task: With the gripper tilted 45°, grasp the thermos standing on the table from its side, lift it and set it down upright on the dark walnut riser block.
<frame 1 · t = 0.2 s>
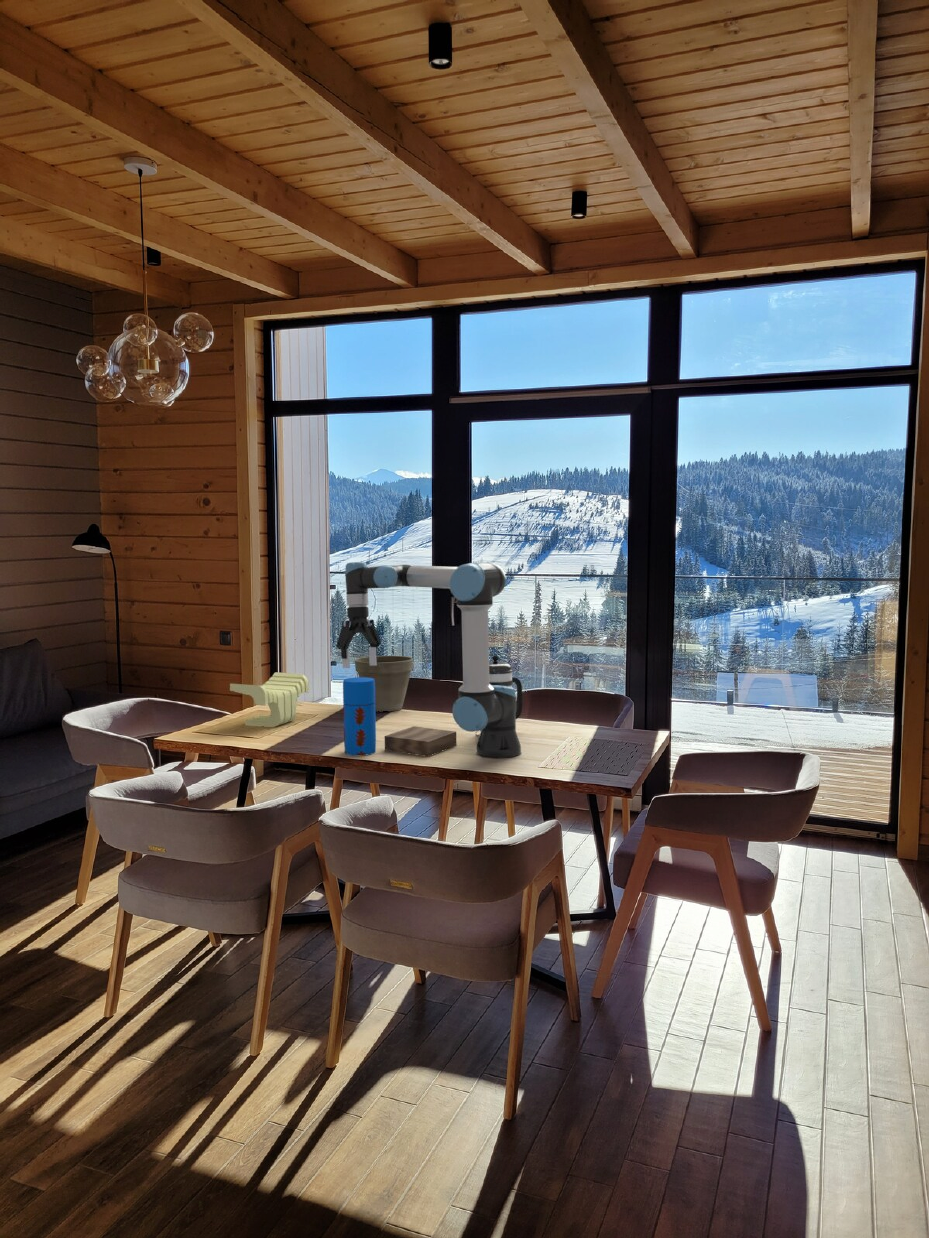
hand: (360, 666, 320), 28 cm above the table, tool pointing down, fingers open, 13 cm apart
walnut riser: (420, 747, 318), on the table
plant pot: (384, 709, 389), on the table
pale green ribbed part: (271, 723, 361), on the table
coffee press: (497, 736, 336), on the table
thermos: (360, 752, 313), on the table
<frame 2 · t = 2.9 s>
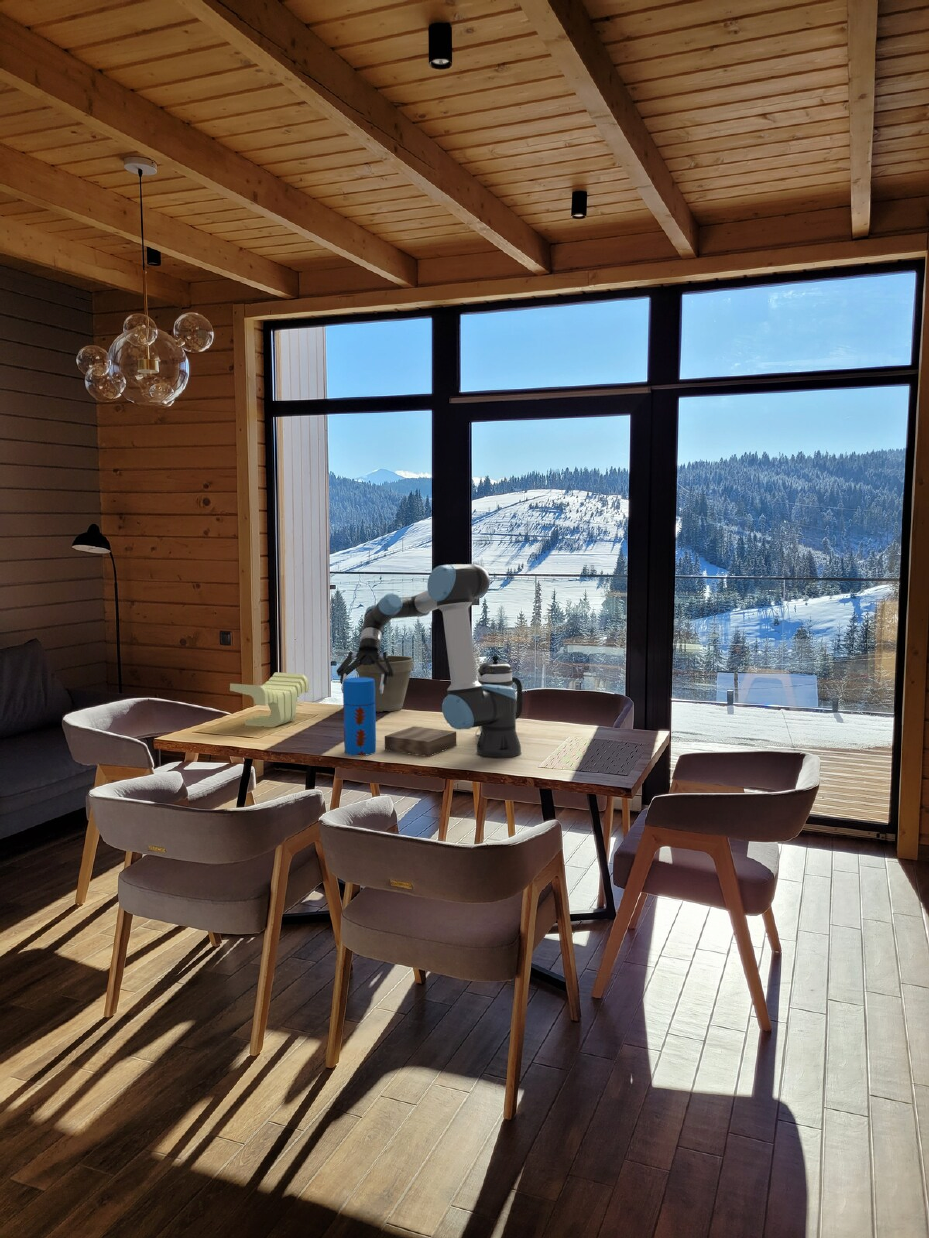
hand: (361, 691, 318), 20 cm above the table, tool tilted 45°, fingers open, 13 cm apart
nothing on the table moved.
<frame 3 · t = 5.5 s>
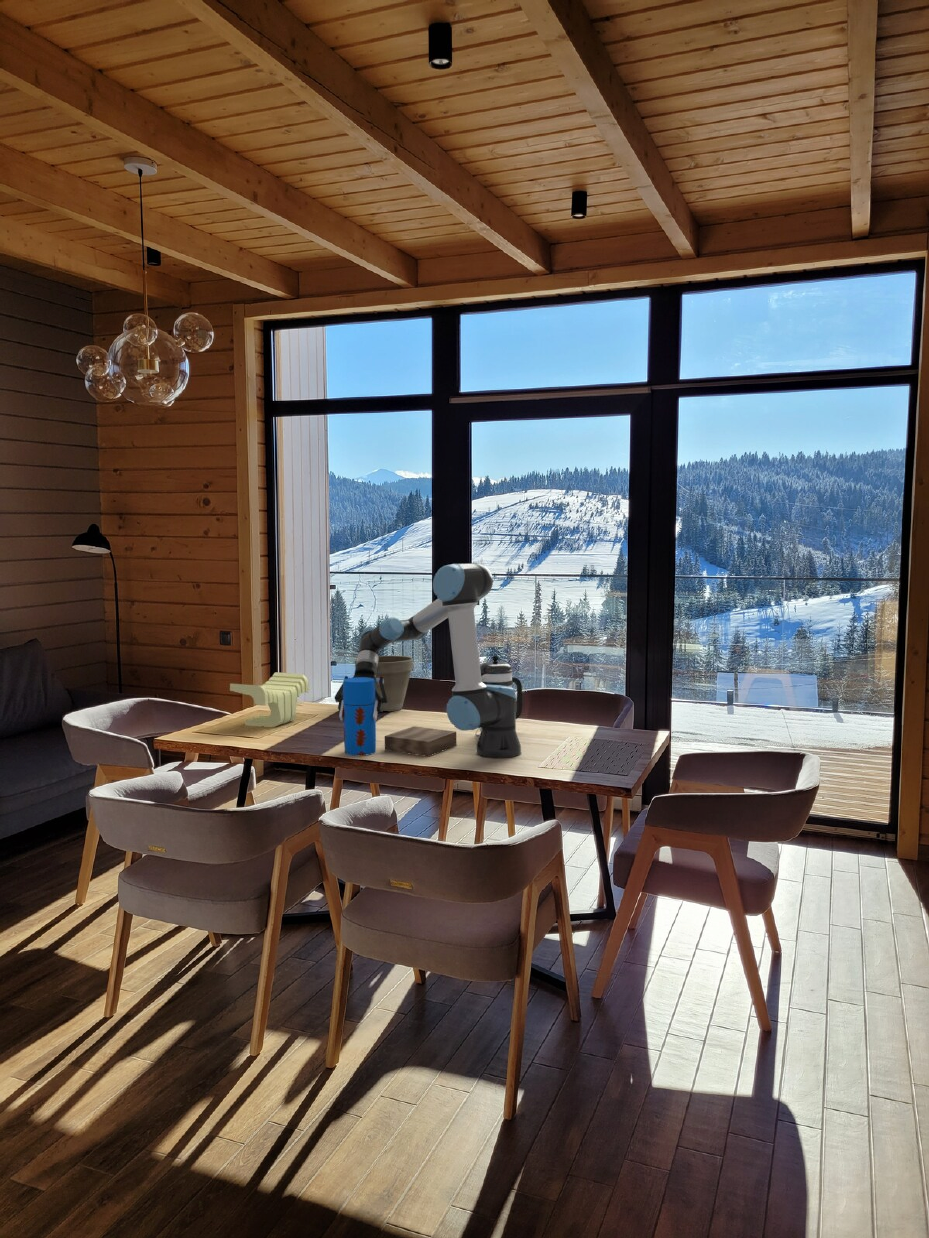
hand: (357, 718, 309), 12 cm above the table, tool tilted 45°, fingers closed on thermos, 11 cm apart
thermos: (360, 752, 313), on the table, touching gripper
everything else where it was.
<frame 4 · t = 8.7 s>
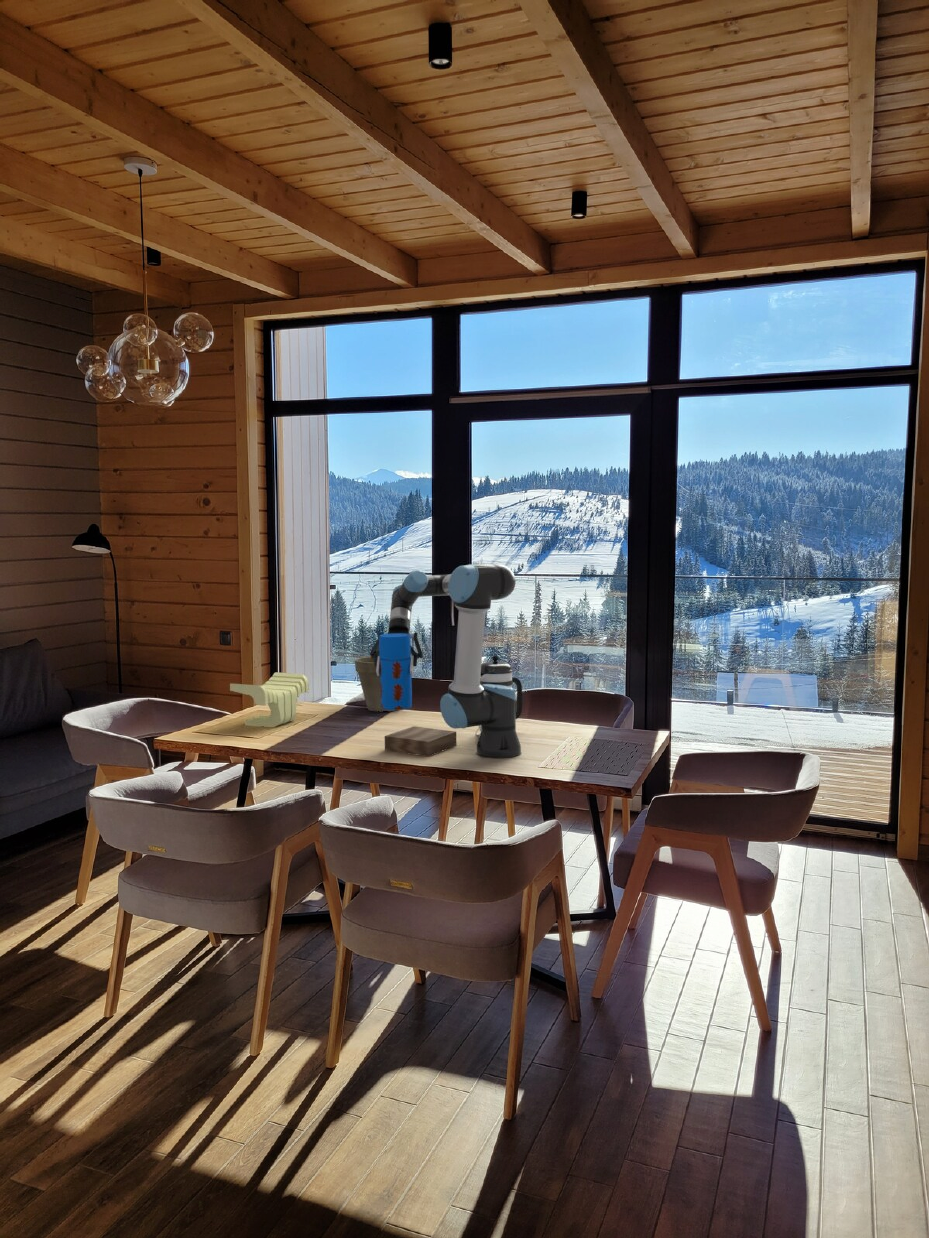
hand: (394, 673, 312), 27 cm above the table, tool tilted 45°, fingers closed on thermos, 11 cm apart
thermos: (396, 707, 316), point 14 cm above the table, touching gripper
everything else where it was.
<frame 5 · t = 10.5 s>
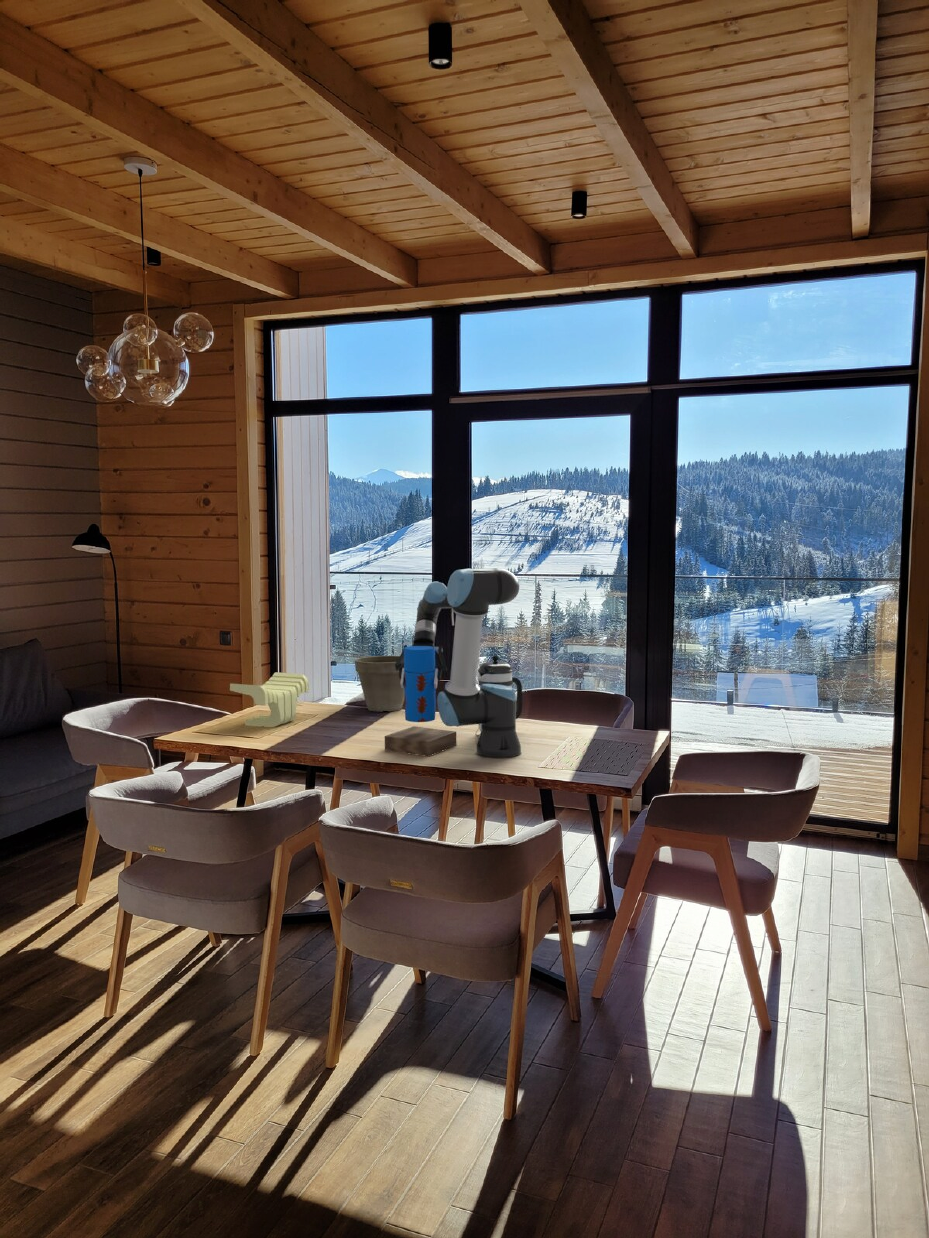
hand: (418, 685, 313), 22 cm above the table, tool tilted 45°, fingers closed on thermos, 11 cm apart
thermos: (420, 719, 317), point 10 cm above the table, touching gripper
everything else where it was.
when the fingers open (19 cm above the table, at t = 11.9 s): thermos drops 1 cm, resting on walnut riser.
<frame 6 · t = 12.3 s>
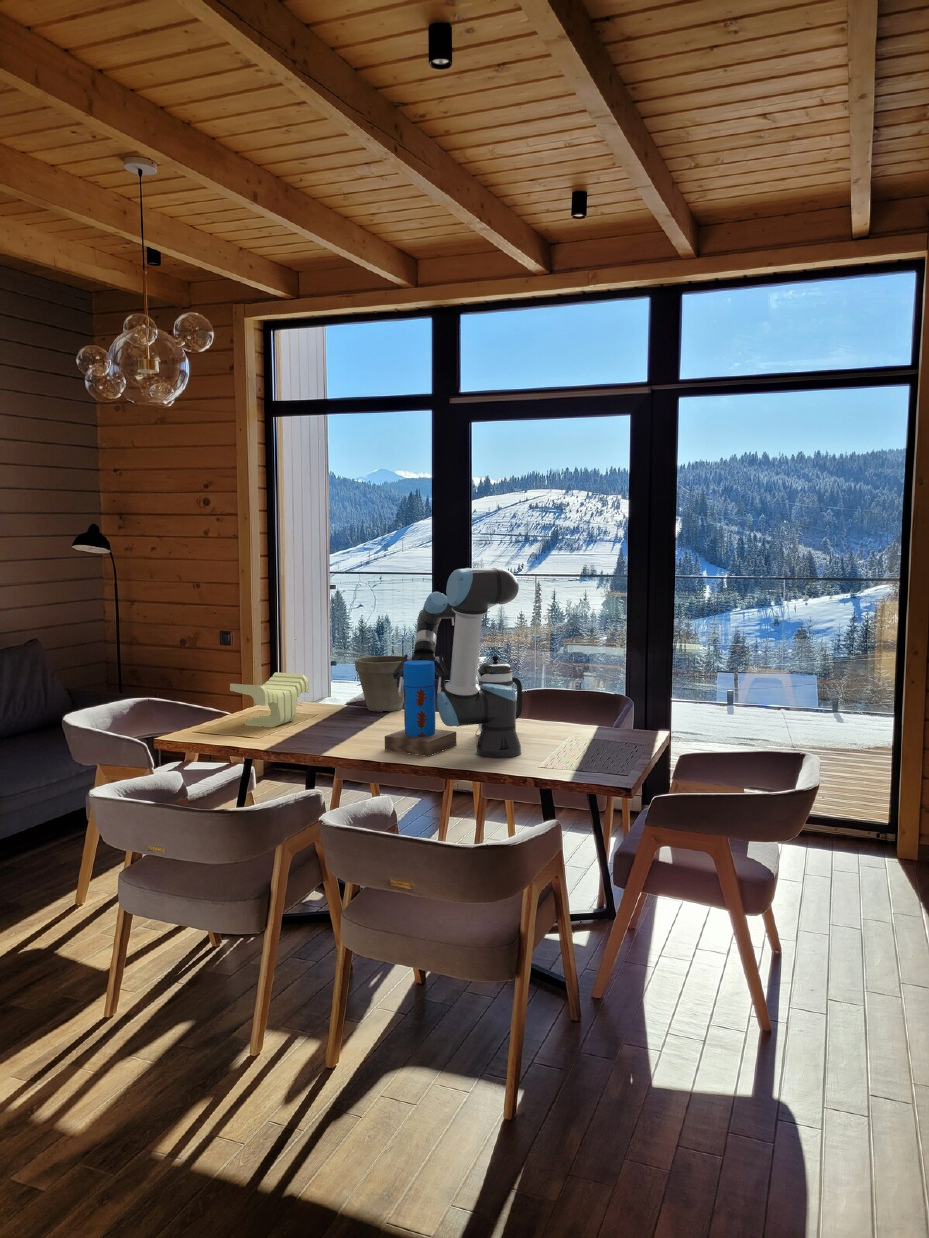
hand: (419, 694, 314), 19 cm above the table, tool tilted 45°, fingers open, 13 cm apart
thermos: (420, 734, 317), point 5 cm above the table, touching walnut riser
everything else where it was.
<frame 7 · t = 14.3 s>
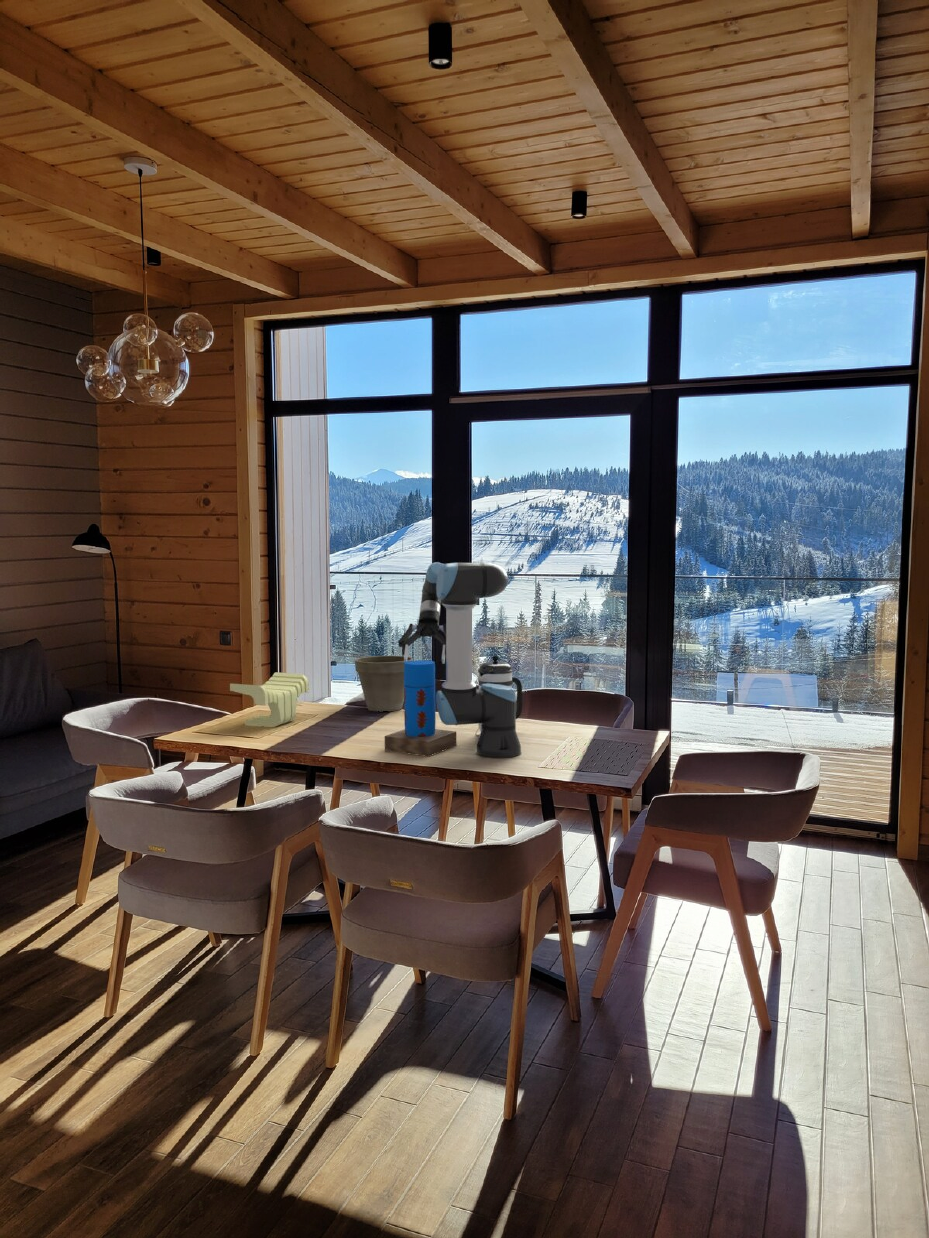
hand: (424, 661, 325), 29 cm above the table, tool tilted 45°, fingers open, 13 cm apart
nothing on the table moved.
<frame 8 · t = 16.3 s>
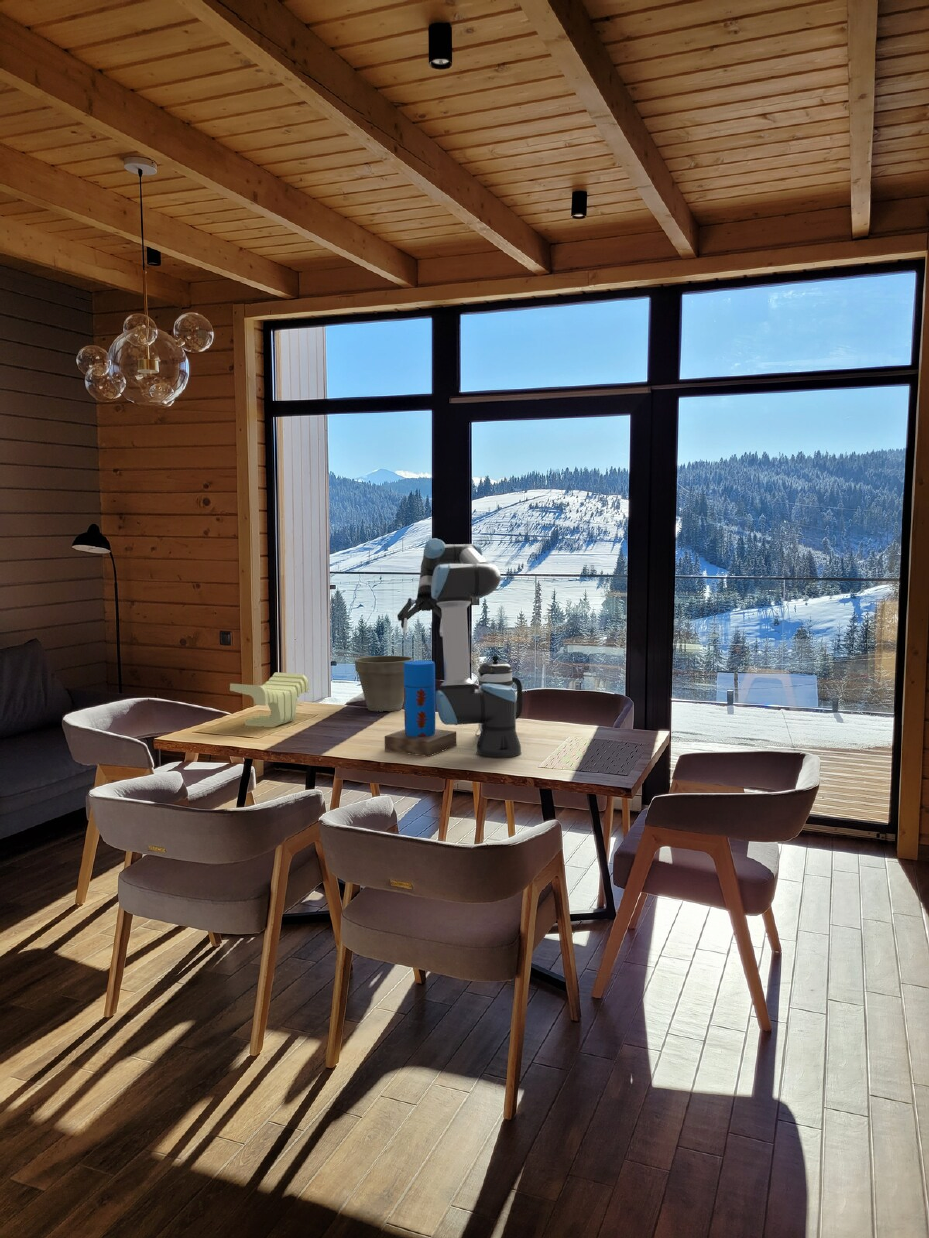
hand: (422, 634, 334), 38 cm above the table, tool tilted 45°, fingers open, 13 cm apart
nothing on the table moved.
at the end: thermos inside the target area on the walnut riser (0.3 cm from its centre), point 4.8 cm above the walnut riser's base; thermos tilted 0°; the gripper is holding nothing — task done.
